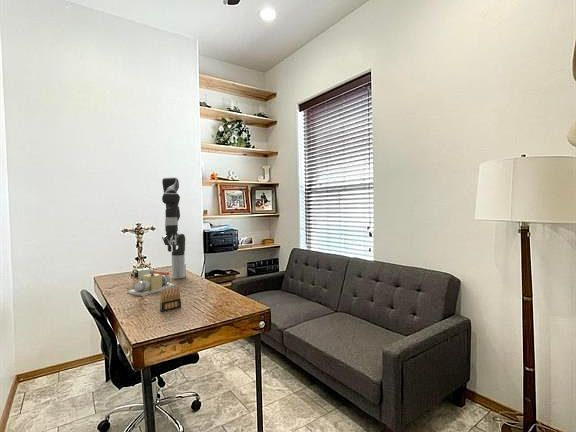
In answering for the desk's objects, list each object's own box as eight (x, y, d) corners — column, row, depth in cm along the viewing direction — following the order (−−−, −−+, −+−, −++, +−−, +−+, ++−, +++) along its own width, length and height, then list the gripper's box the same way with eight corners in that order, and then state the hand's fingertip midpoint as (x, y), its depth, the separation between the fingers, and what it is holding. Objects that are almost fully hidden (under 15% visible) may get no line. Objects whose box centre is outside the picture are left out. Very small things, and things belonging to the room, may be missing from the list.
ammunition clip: (161, 312, 162) (161, 289, 162) (159, 311, 164) (159, 288, 163) (181, 307, 170) (180, 285, 170) (179, 307, 171) (179, 284, 171)
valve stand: (161, 284, 222) (161, 268, 221) (176, 286, 215) (175, 270, 215) (127, 293, 199) (126, 276, 198) (142, 296, 192) (142, 278, 192)
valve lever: (148, 273, 206) (148, 270, 206) (152, 272, 209) (152, 269, 209) (165, 275, 199) (165, 272, 198) (169, 274, 201) (169, 271, 201)
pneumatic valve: (153, 284, 222) (152, 266, 221) (135, 286, 214) (134, 269, 214) (150, 282, 226) (150, 265, 226) (132, 285, 218) (132, 267, 218)
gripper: (175, 223, 213) (176, 249, 213) (158, 224, 200) (158, 252, 201) (184, 223, 209) (184, 250, 210) (166, 225, 197) (167, 253, 197)
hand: (171, 251), depth 205 cm, fingers open, 3 cm apart
